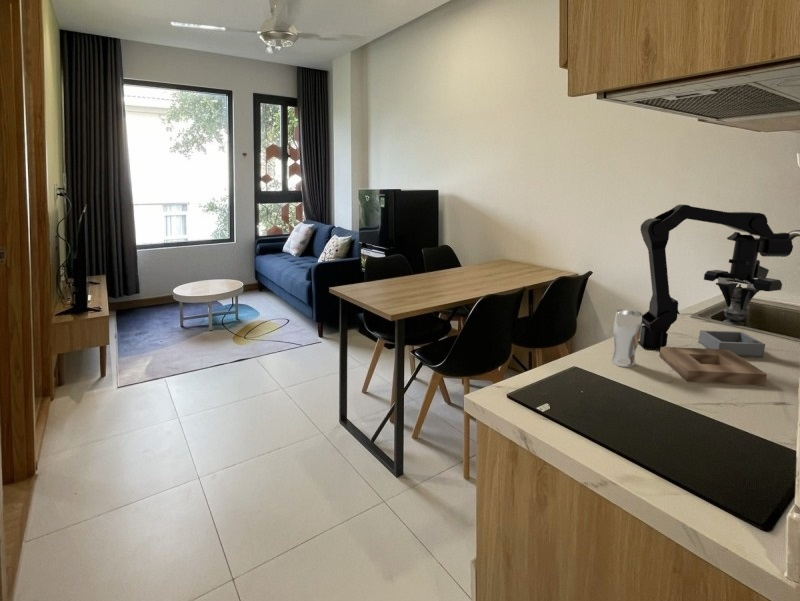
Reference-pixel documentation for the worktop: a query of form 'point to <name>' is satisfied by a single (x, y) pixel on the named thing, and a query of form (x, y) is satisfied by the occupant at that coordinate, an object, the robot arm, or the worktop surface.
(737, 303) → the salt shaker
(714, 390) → the worktop surface
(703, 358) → the socket block
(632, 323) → the beer glass
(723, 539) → the worktop surface
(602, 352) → the worktop surface
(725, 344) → the bin
